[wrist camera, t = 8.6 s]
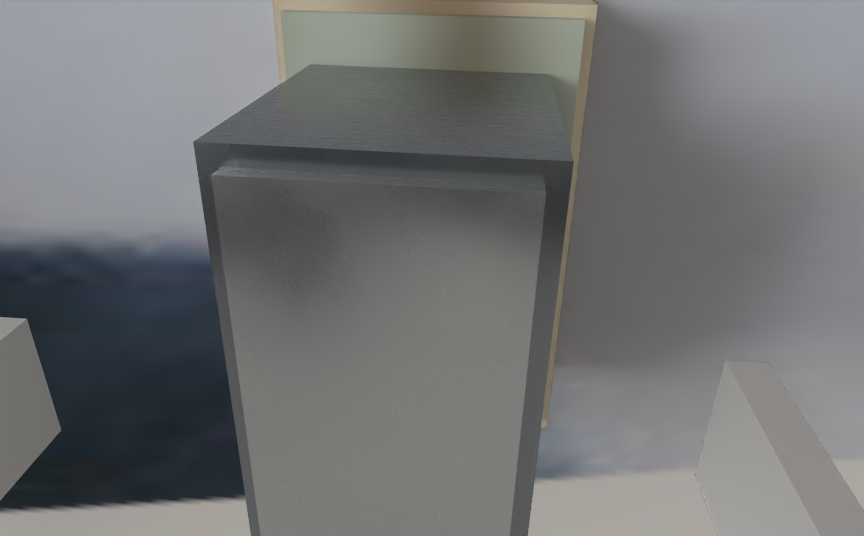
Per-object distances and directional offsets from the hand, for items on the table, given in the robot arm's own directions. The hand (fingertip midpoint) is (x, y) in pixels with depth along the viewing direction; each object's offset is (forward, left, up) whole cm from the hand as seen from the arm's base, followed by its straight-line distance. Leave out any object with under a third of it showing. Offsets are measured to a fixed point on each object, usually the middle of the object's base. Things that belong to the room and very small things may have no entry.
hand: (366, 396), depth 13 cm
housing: (0, 0, -7) cm, 7 cm away
